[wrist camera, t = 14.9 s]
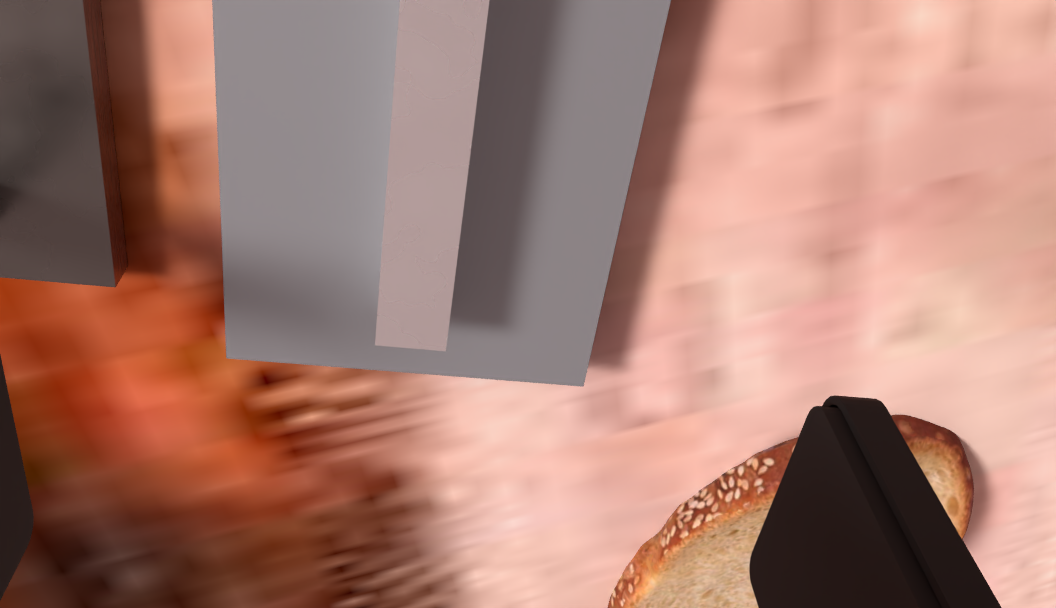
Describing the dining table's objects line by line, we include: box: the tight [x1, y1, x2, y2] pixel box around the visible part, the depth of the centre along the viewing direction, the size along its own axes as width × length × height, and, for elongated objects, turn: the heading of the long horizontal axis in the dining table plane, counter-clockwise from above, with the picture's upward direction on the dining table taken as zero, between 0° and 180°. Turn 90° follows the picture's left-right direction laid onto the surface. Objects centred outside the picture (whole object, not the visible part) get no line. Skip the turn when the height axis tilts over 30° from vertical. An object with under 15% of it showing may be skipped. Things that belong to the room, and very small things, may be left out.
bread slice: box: [608, 415, 974, 608], centre depth 46 cm, size 18×18×4 cm
